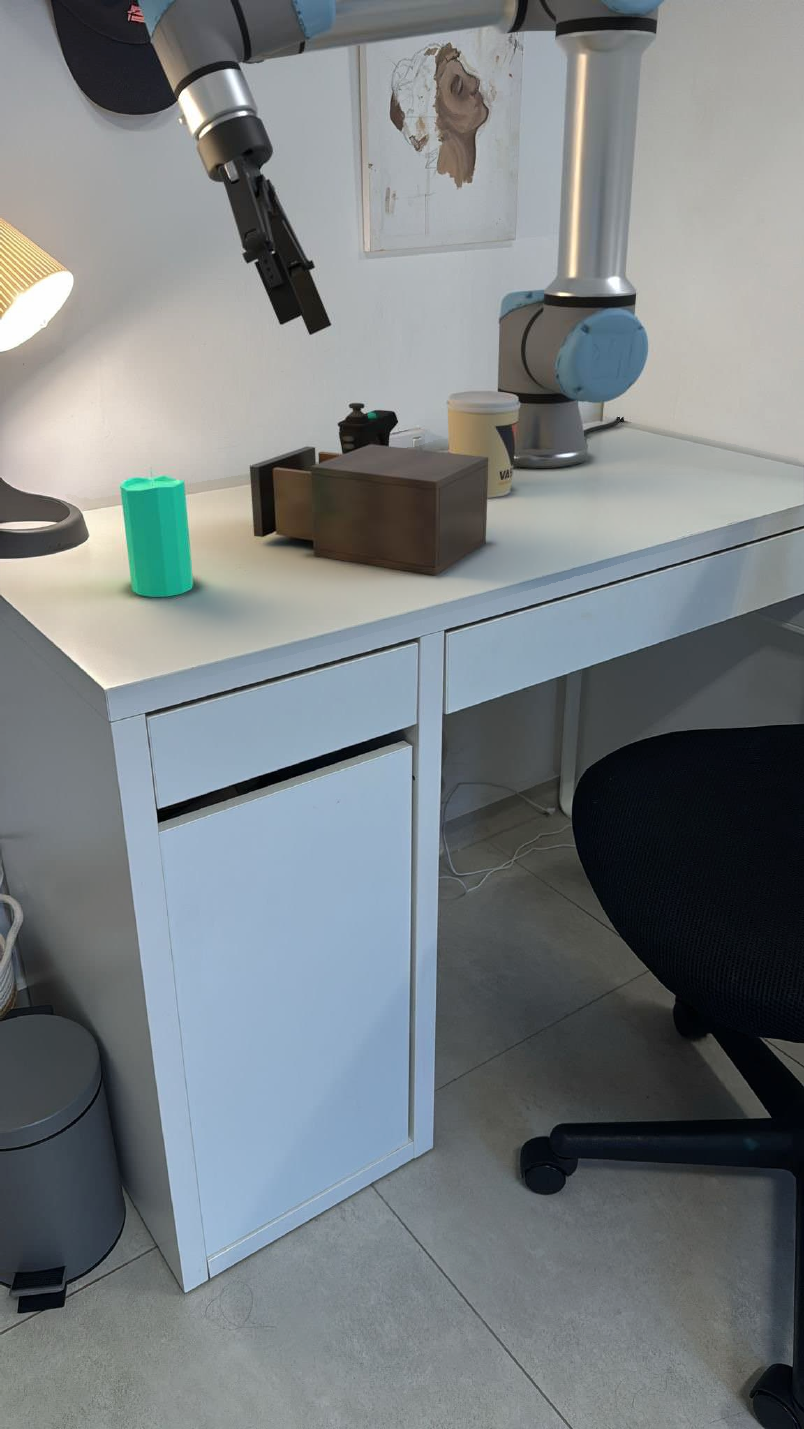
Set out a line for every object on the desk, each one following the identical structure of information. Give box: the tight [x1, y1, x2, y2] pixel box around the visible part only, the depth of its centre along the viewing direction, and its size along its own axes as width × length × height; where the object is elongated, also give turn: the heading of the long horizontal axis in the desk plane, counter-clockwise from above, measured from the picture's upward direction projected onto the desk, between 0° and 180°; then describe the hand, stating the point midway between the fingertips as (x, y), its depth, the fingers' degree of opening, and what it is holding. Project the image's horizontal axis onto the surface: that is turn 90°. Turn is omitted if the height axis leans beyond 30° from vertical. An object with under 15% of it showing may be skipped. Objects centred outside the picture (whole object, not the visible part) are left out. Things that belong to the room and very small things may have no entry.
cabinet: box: [311, 444, 488, 576], centre depth 117 cm, size 15×13×10 cm
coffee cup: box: [446, 390, 520, 499], centre depth 140 cm, size 9×9×12 cm
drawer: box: [249, 446, 343, 542], centre depth 121 cm, size 15×11×8 cm
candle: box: [119, 465, 194, 598], centre depth 105 cm, size 6×6×12 cm
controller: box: [337, 402, 399, 454], centre depth 149 cm, size 4×12×10 cm, turn 155°
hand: (307, 325), depth 119 cm, fingers open, 13 cm apart
